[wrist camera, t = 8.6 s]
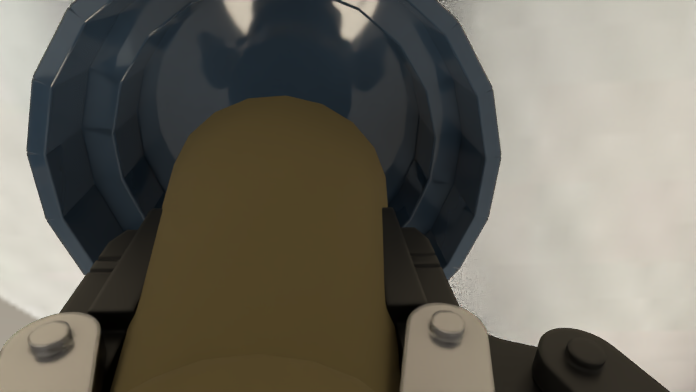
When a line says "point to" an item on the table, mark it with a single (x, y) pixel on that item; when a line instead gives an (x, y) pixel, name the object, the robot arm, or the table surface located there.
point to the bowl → (253, 82)
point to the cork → (267, 261)
